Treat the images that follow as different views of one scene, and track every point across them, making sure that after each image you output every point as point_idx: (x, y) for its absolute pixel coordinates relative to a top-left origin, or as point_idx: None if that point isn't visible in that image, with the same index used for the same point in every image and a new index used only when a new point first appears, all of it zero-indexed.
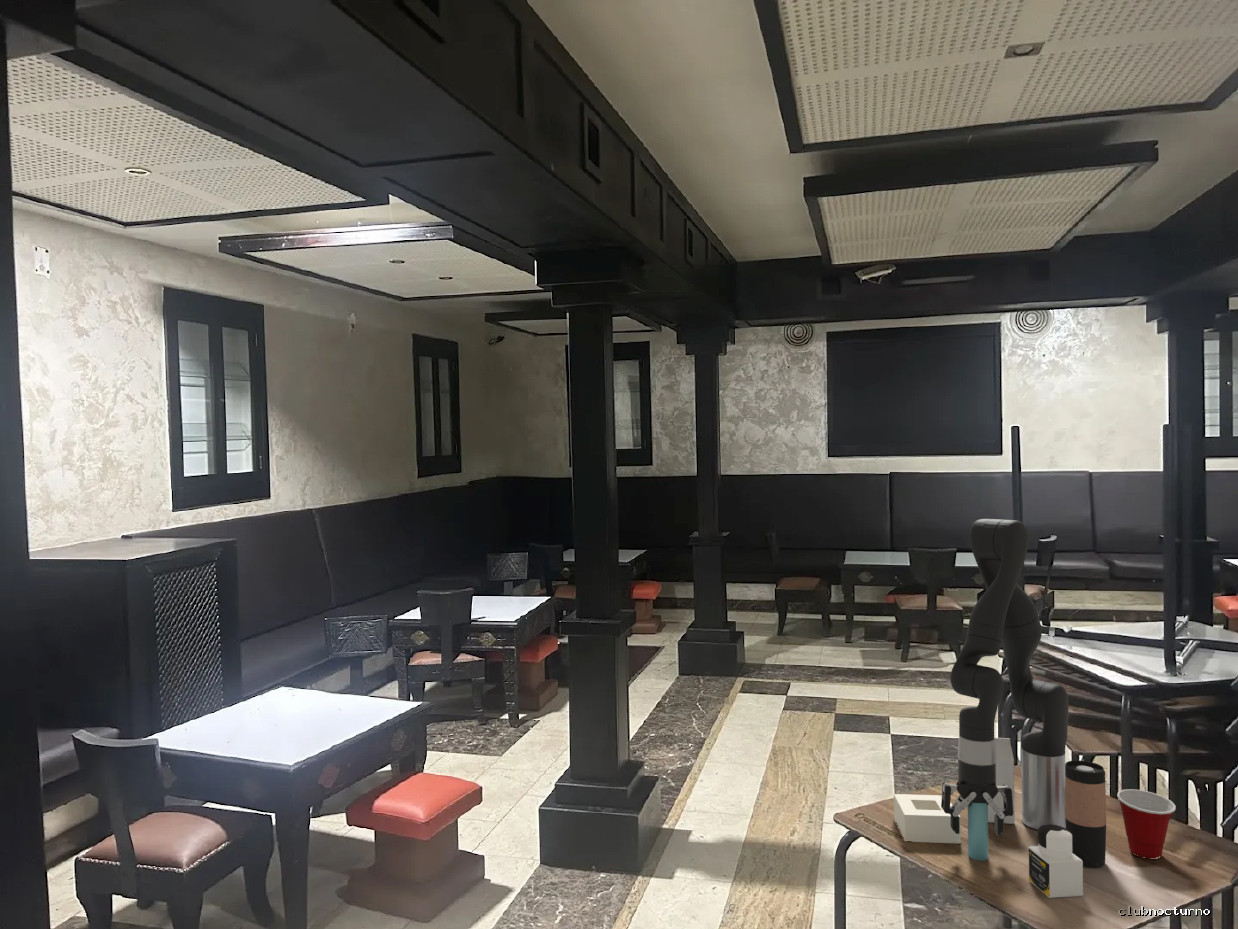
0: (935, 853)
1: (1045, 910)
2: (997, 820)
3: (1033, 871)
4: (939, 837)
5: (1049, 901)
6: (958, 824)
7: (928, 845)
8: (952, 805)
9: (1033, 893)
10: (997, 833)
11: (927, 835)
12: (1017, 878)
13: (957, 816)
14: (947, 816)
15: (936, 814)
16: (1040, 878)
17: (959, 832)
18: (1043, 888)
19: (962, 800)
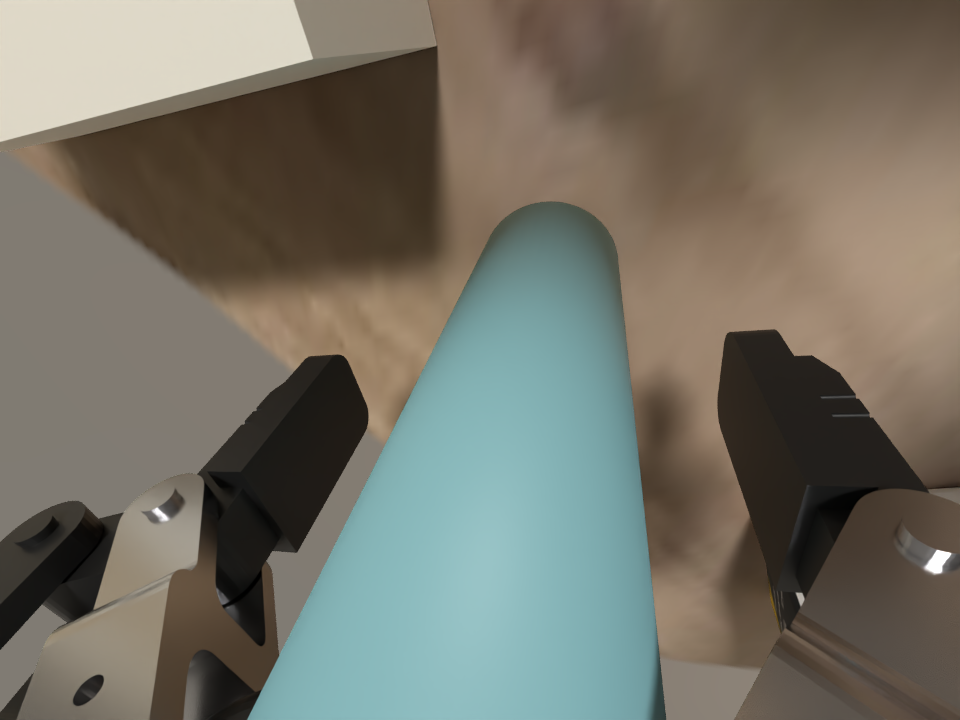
0: (293, 273)
1: (707, 637)
2: (768, 562)
3: (783, 599)
4: (250, 91)
5: (760, 607)
6: (324, 488)
7: (224, 157)
8: (112, 570)
9: (720, 569)
10: (722, 429)
11: (159, 113)
12: (707, 479)
13: (272, 541)
14: (158, 99)
15: (18, 72)
16: (785, 626)
17: (364, 431)
18: (774, 602)
19: (166, 682)
